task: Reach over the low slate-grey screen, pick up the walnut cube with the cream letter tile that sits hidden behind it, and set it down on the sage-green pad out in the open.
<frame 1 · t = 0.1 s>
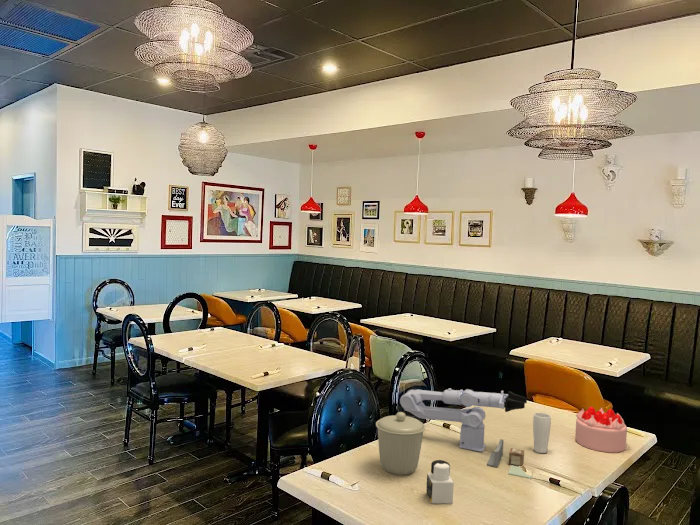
hand: (525, 402, 210), 22 cm above the table, tool horizontal, fingers open, 7 cm apart
canister: (398, 469, 195), on the table
pad: (520, 472, 196), on the table
screen: (498, 460, 206), on the table
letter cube: (516, 464, 204), on the table
medicine bottle: (439, 499, 174), on the table
cake: (599, 444, 228), on the table
drinking glass: (540, 451, 217), on the table
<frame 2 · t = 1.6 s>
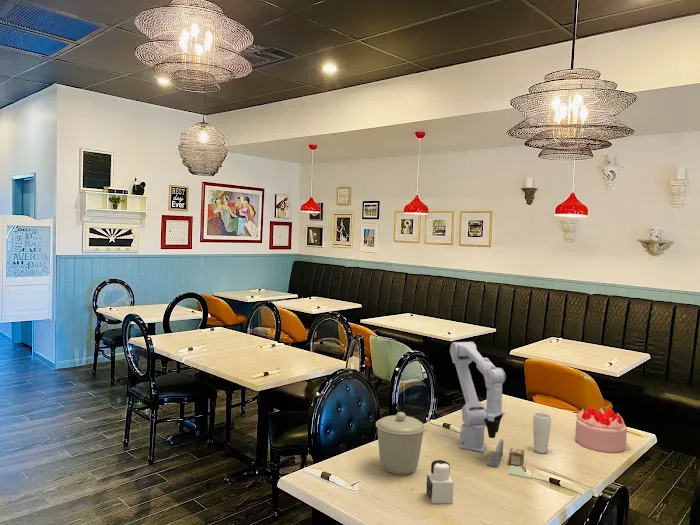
hand: (493, 434, 206), 10 cm above the table, tool pointing down, fingers open, 7 cm apart
nothing on the table moved.
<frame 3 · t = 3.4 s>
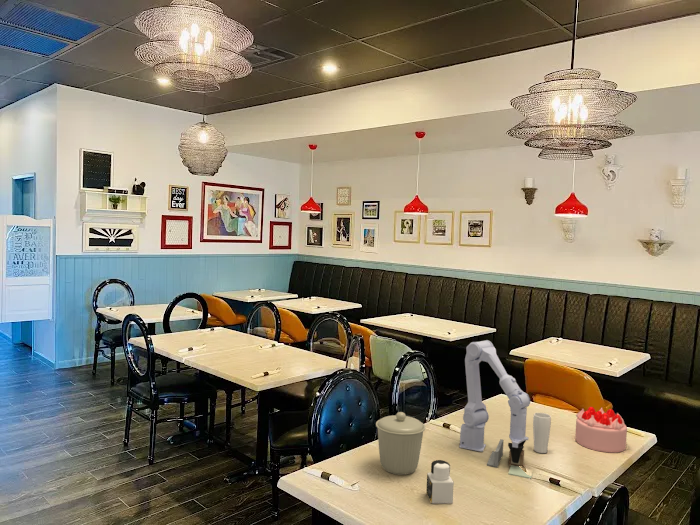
hand: (516, 459, 204), 2 cm above the table, tool pointing down, fingers closed on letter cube, 5 cm apart
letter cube: (516, 463, 204), on the table, touching gripper
everything else where it was.
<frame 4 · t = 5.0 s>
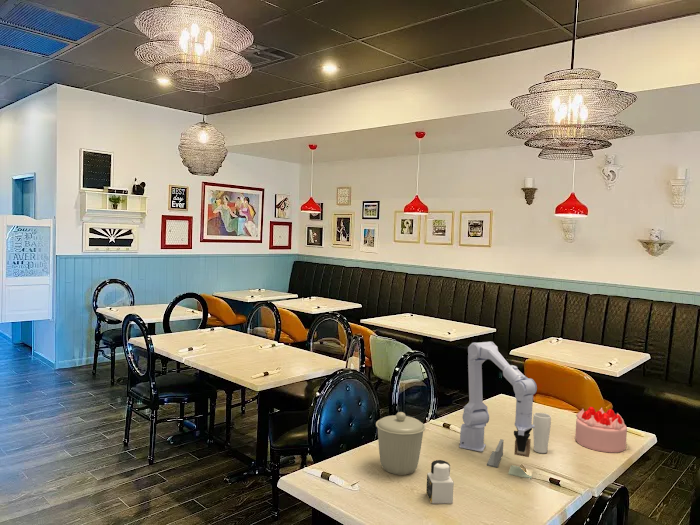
hand: (522, 448, 196), 9 cm above the table, tool pointing down, fingers closed on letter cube, 5 cm apart
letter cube: (522, 453, 196), point 7 cm above the table, touching gripper
everything else where it was.
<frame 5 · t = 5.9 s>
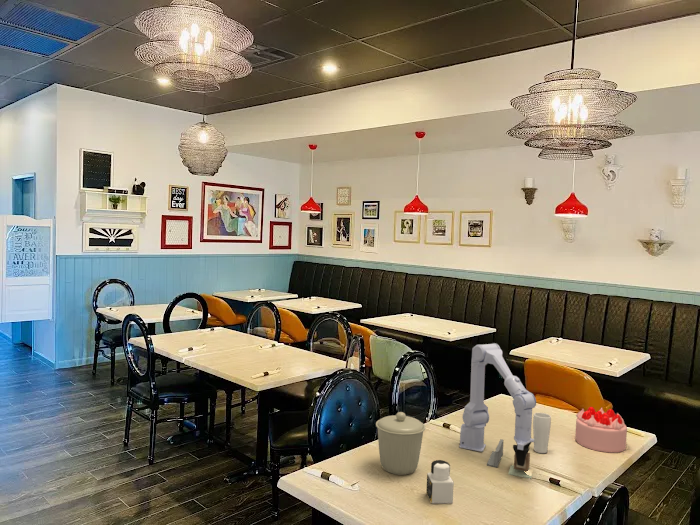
hand: (521, 462, 196), 4 cm above the table, tool pointing down, fingers closed on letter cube, 5 cm apart
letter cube: (521, 467, 196), point 2 cm above the table, touching gripper
everything else where it was.
when the fingers open (3 cm above the table, at t = 6.7 s): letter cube stays where it is, resting on pad.
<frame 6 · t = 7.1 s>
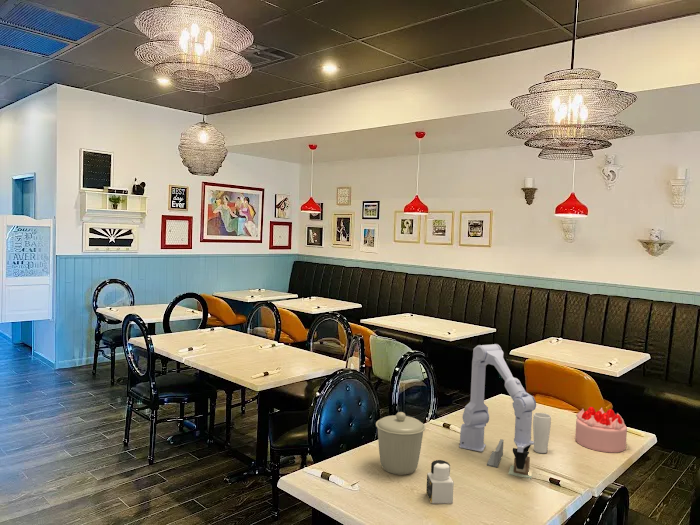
hand: (521, 464, 196), 3 cm above the table, tool pointing down, fingers open, 7 cm apart
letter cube: (521, 471, 196), resting on pad
everything else where it was.
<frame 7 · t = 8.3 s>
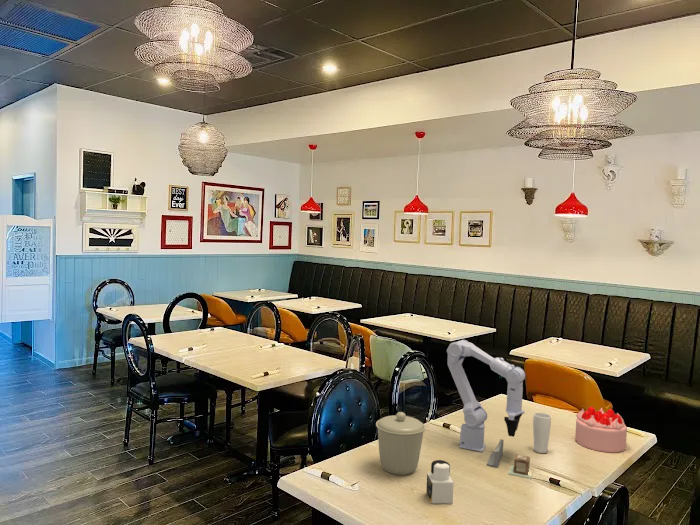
hand: (512, 432, 209), 10 cm above the table, tool pointing down, fingers open, 7 cm apart
nothing on the table moved.
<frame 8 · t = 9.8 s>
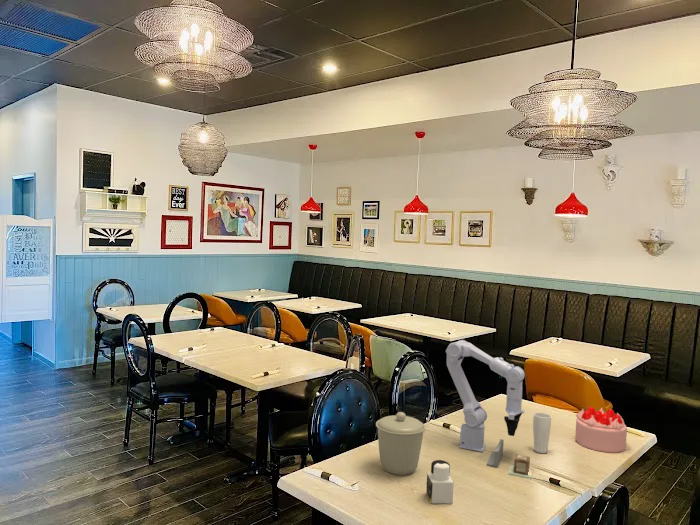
hand: (512, 432, 210), 10 cm above the table, tool pointing down, fingers open, 7 cm apart
nothing on the table moved.
at the end: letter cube inside the target area on the pad (0.2 cm from its centre), point 0.4 cm above the pad's base; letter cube tilted 0°; the gripper is holding nothing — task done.
